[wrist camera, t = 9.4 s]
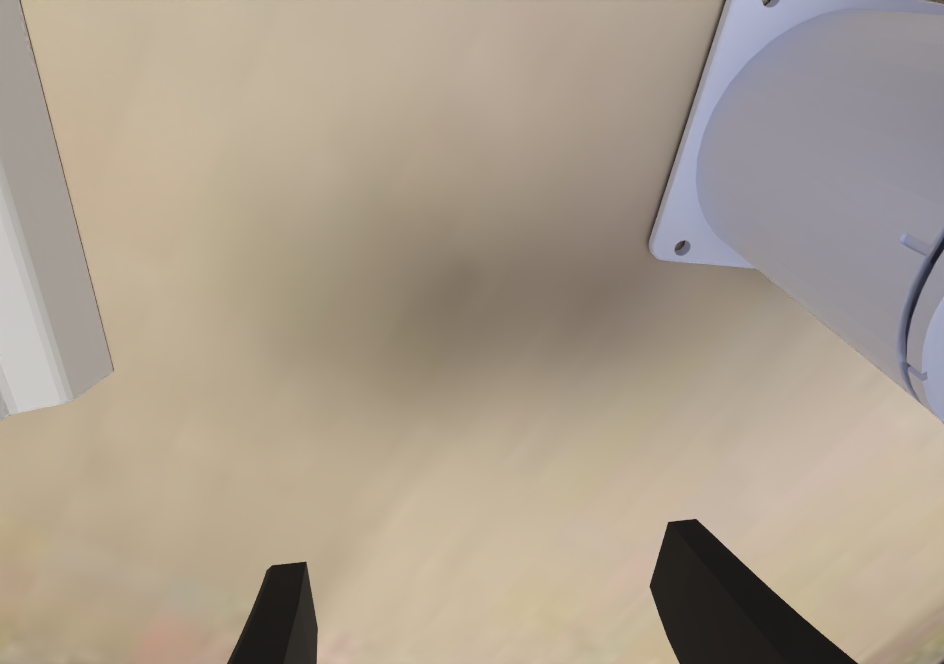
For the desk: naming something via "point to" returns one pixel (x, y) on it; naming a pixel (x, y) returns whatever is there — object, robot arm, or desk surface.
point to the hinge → (39, 248)
